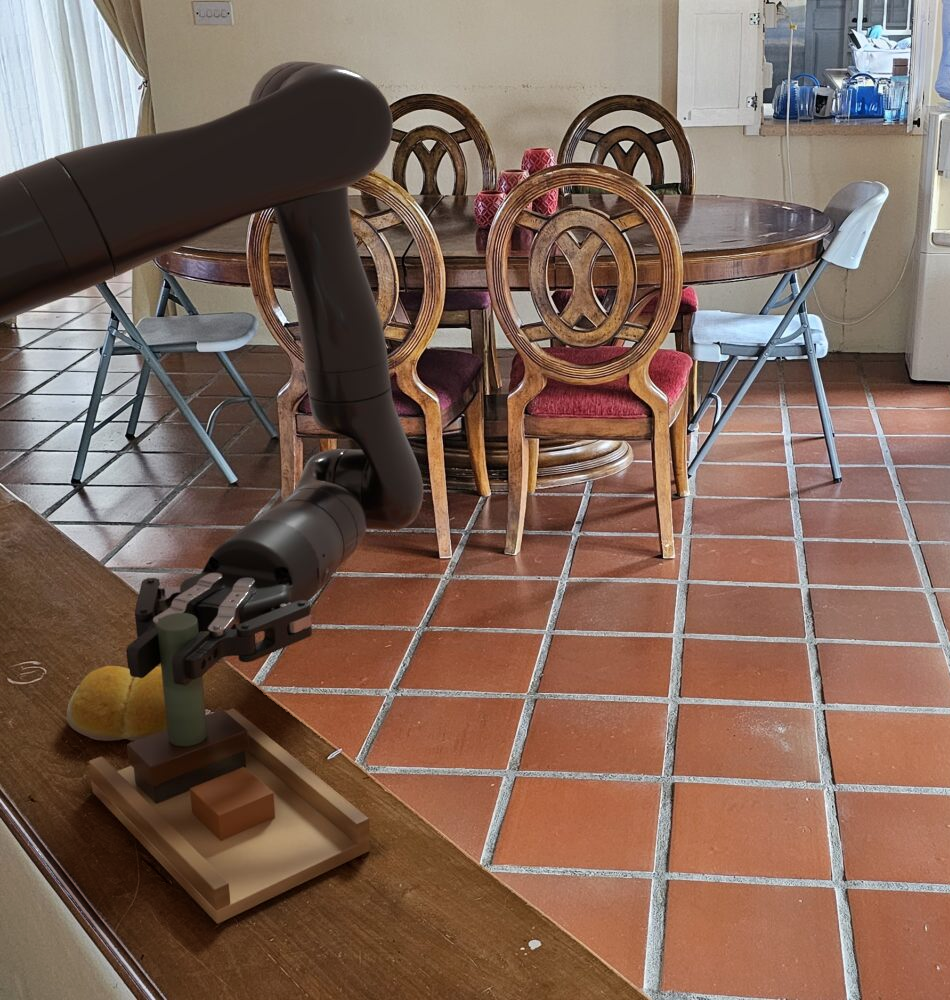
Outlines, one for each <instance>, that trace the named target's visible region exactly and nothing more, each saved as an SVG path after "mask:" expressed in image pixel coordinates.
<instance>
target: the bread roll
mask: <svg viewBox="0 0 950 1000" xmlns="http://www.w3.org/2000/svg"><path fill="white" fill-rule="evenodd" d="M66 721H67V723H68V726H69V727H70V728H72V729H73V730H74V731H75V732H77V733H79V734H80V735H83V736H85V737H87V738H90V739H92V740H95V741H105V742H108V741H109V742H112V741H121V740H128V741H132V742H134V741H137V740H140V739H143V738H145V737H148V736H151V735H154V734H156V733H159V732H162V731H165V730H167V722H166V712H165V702H164V692H163V682H162V672H161V665H158V666H156V667H155V668H154V669H153V670H152V671H151V672H150V673H148V674H147V675H146V676H145V677H144V678H138V677H132V676H131V675H130V670H129V669H128V667H123V666H120V665H104V666H102V667H99V668H96V669H94V670H92V671H91V672H89V673H88V674H87V675H85V677H84V678H83V679H82V681H81V682H80V683H79V684H78V685H77V686H76V689H75V690H74V692H73V693H72V696H71V697H70V699H69V702H68V705H67V709H66Z"/></svg>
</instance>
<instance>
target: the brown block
mask: <svg viewBox="0 0 950 1000" xmlns="http://www.w3.org/2000/svg"><path fill="white" fill-rule="evenodd" d="M190 796H191V806H192V813H193V814H194V815H195V816H196V817H197V818H198V819H199V820H200V821H201V822H202V823H203V824H204V825H205V826H206V827H207V828H208V829H209V830H210V831H211V832H212V833H213V834H214V835H215V836H216V837H217V838H218V839H220V840H221V841H222V840H224V839H226V838H229V837H231V836H233V835H236V834H238V833H240V832H243V831H245V830H247V829H249V828H252V827H254V826H256V825H259V824H261V823H263V822H265V821H268V820H270V819H272V818H275V807H274V793H273V792H272V791H271V790H270V789H269V788H268V787H266V786H265V785H264V784H263V783H262V782H261V781H260V780H258V779H257V778H256V777H255V776H254V775H253V774H251V773H250V772H249V771H248V770H247V769H246V768H245V767H242V768H240V769H237V770H235V771H232V772H230V773H227V774H225V775H222V776H220V777H217V778H215V779H212V780H210V781H207V782H205V783H202V784H200V785H197V786H195V787H192V788H190Z"/></svg>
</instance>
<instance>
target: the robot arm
mask: <svg viewBox="0 0 950 1000" xmlns="http://www.w3.org/2000/svg"><path fill="white" fill-rule="evenodd" d="M393 119H394V118H393V114H392V109H391V107H390V104H389V102H388V101H387V98H386V97H385V96H384V94H383V92H382V91H381V90H380V88H379V87H377V86H376V85H375V84H374V83H373V82H371V80H369V79H368V78H367V77H365V76H363V74H360V73H358V72H357V71H354V70H352V69H349V68H347V67H344V66H341V65H336V64H331V63H322V62H316V61H315V62H314V61H288V62H283V63H281V64H279V65H277V66H274V67H272V68H271V69H270V70H268V71H267V72H266V73H264V74H263V75H262V76H261V78H260V79H259V80H258V81H257V83H256V84H255V86H254V88H253V90H252V92H251V95H250V99H249V102H248V104H247V105H245V106H242V107H241V108H239V109H236V110H234V111H232V112H230V113H227V114H225V115H223V116H221V117H218V118H216V119H213V120H210V121H207V122H204V123H200V124H197V125H194V126H190V127H185V128H181V129H176V130H170V131H169V130H168V131H163V132H157V133H152V134H145V135H139V136H134V137H127V138H123V139H117V140H113V141H108V142H103V143H99V144H95V145H91V146H86V147H82V148H79V149H75V150H72V151H67V152H64V153H61V154H58V155H56V156H54V157H50V158H47V159H45V160H42V161H39V162H36V163H34V164H31V165H28V166H26V167H23V168H20V169H18V170H15V171H13V172H10V173H6V174H5V175H1V176H0V323H2V322H5V321H7V320H10V319H12V318H13V319H14V318H15V317H17V316H21V315H23V314H25V313H28V312H31V311H32V310H35V309H38V308H40V307H44V306H46V305H49V304H52V303H55V302H57V301H59V300H62V299H65V298H68V297H70V296H73V295H76V294H78V293H80V292H83V291H86V290H87V289H90V288H93V287H95V286H97V285H99V284H101V283H104V282H106V281H109V280H111V279H114V278H117V277H118V276H119V277H120V276H121V275H123V274H125V273H127V272H129V271H132V270H134V269H135V268H138V267H140V266H142V265H144V264H147V263H149V262H151V261H153V260H156V259H158V258H160V257H162V256H164V255H167V254H169V253H171V252H174V251H176V250H178V249H181V248H183V247H185V246H187V245H189V244H191V243H193V242H196V241H197V240H200V239H201V238H204V237H206V236H208V235H209V234H212V233H214V232H215V231H217V230H219V229H221V228H223V227H226V226H227V225H230V224H232V223H234V222H237V221H239V220H241V219H244V218H246V217H249V216H252V215H256V214H258V213H261V212H264V211H267V210H271V209H273V212H274V215H275V219H276V223H277V227H278V230H279V234H280V239H281V243H282V247H283V251H284V256H285V259H286V265H287V269H288V273H289V278H290V283H291V287H292V288H291V289H292V293H293V298H294V304H295V309H296V315H297V322H298V329H299V335H300V343H301V350H302V357H303V364H304V372H305V381H306V386H307V394H308V401H309V405H310V412H311V415H312V419H313V421H314V422H315V424H316V425H317V426H318V427H319V428H321V429H323V430H325V431H326V432H330V433H332V434H333V433H334V434H337V435H340V436H342V437H345V438H348V439H350V440H352V441H353V442H355V443H356V444H357V446H358V447H359V448H360V449H353V448H352V449H351V448H330V449H326V450H323V451H320V452H318V453H316V454H314V455H313V456H311V457H310V458H309V459H308V460H307V462H306V463H305V465H304V468H303V470H302V473H301V475H300V477H299V479H298V481H297V483H296V485H295V486H294V489H293V491H292V493H291V494H289V495H288V496H287V497H286V498H284V499H283V500H282V501H281V502H279V503H278V504H277V505H275V506H273V507H271V508H270V509H267V510H265V511H263V512H262V513H261V514H259V515H258V516H256V517H255V518H254V519H252V520H251V521H250V522H249V523H247V524H246V525H245V526H243V527H242V528H241V529H240V530H238V531H237V532H236V533H234V534H233V535H232V536H231V537H229V538H228V539H227V540H225V541H224V542H223V543H221V544H220V545H219V546H217V547H216V549H214V551H213V552H212V554H211V555H210V556H209V558H208V560H207V562H206V564H205V566H204V567H203V569H202V571H201V572H199V574H197V575H193V576H191V577H188V578H186V579H184V580H183V581H181V584H180V586H167V587H165V585H161V584H160V583H161V581H160V579H159V578H157V577H147V578H145V579H143V580H142V581H141V584H140V588H139V593H138V597H137V601H136V603H135V608H134V619H135V627H136V635H137V636H136V639H134V640H133V641H132V642H131V643H129V644H128V645H127V647H126V649H125V653H126V659H127V660H126V662H127V669H129V670H130V675H131V676H132V677H138V678H144V677H145V676H146V675H147V674H148V673H150V672H151V671H152V670H153V669H154V668H155V667H156V666H160V665H161V662H160V652H159V641H158V631H157V622H158V621H159V619H161V618H162V617H164V616H166V615H170V614H174V613H188V614H192V615H194V616H195V617H196V618H197V620H198V630H199V633H198V635H197V636H196V637H194V638H192V639H191V640H190V641H189V642H188V643H187V644H185V645H184V646H183V647H182V648H181V649H180V650H179V651H177V652H176V653H175V654H174V656H173V658H172V669H173V680H174V683H175V684H180V685H188V684H189V683H190V682H191V681H192V680H193V679H197V678H199V677H201V676H202V677H203V676H204V675H205V674H206V672H208V671H209V670H210V669H212V667H214V665H216V664H217V663H219V664H221V663H224V662H227V661H229V659H230V658H231V657H234V656H235V657H238V661H240V662H242V663H251V662H253V661H256V660H259V659H261V658H263V657H266V656H268V655H270V654H273V653H275V652H277V651H280V650H282V649H285V648H287V647H290V646H291V645H294V644H296V643H299V642H300V641H303V640H305V639H307V638H310V637H311V636H312V635H313V627H312V626H313V618H312V607H311V601H310V600H311V599H312V598H313V597H315V596H316V594H318V593H319V592H320V591H321V590H322V589H323V588H324V587H325V585H326V584H327V583H329V581H330V579H331V578H332V576H333V575H334V573H335V572H336V571H337V570H338V569H339V567H341V566H342V565H343V564H344V563H345V562H346V561H347V560H348V559H349V558H350V557H351V556H352V555H353V554H354V553H355V552H356V550H357V549H358V548H359V547H360V546H361V544H362V542H363V541H364V538H365V536H366V533H367V530H375V531H376V530H378V531H398V530H402V529H405V528H407V527H409V526H410V525H411V524H412V523H413V522H414V521H415V519H416V518H417V517H418V515H419V513H420V510H421V508H422V504H423V500H424V482H423V475H422V472H421V469H420V467H419V463H418V461H417V458H416V455H415V453H414V450H413V449H412V446H411V444H410V442H409V439H408V438H407V434H406V433H405V430H404V427H403V424H402V422H401V419H400V416H399V413H398V411H397V408H396V405H395V402H394V398H393V392H392V384H391V375H390V366H389V359H388V348H387V342H386V336H385V332H384V327H383V323H382V319H381V314H380V312H379V308H378V306H377V302H376V299H375V296H374V294H373V291H372V288H371V285H370V282H369V280H368V277H367V273H366V270H365V267H364V265H363V262H362V258H361V256H360V251H359V249H358V246H357V242H356V238H355V234H354V229H353V224H352V218H351V211H350V203H349V187H350V186H352V185H354V184H356V183H358V182H360V181H361V180H363V179H364V178H366V177H367V176H369V175H370V174H371V173H372V172H373V171H374V170H375V169H376V168H377V167H378V166H379V165H380V163H381V162H382V161H383V159H384V157H385V156H386V154H387V152H388V150H389V148H390V145H391V140H392V137H393V127H394V120H393ZM260 632H263V634H264V635H263V636H264V637H263V639H262V640H260V641H258V642H256V634H258V633H260Z"/></svg>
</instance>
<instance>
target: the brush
mask: <svg viewBox="0 0 950 1000" xmlns="http://www.w3.org/2000/svg"><path fill="white" fill-rule="evenodd" d="M157 631H158V641H159V652H160V662H161V663H160V666H161V672H162V682H163V692H164V702H165V712H166V722H167V730H165V731H162V732H159V733H156V734H154V735H151V736H148V737H145V738H143V739H140V740H137V741H132V742H129V743H126V748H127V749H126V750H127V757H128V764H129V766H132V767H133V768H134V775H135V783H136V784H137V785H138V786H139V787H140V788H141V789H142V790H143V791H144V792H145V793H146V794H147V795H148V796H149V797H150V798H151V799H152V800H153V801H154V802H155V803H156V804H157V803H160V802H162V801H165V800H167V799H170V798H172V797H175V796H177V795H180V794H182V793H185V792H187V791H190V788H192V787H195V786H197V785H200V784H202V783H205V782H207V781H210V780H212V779H215V778H217V777H220V776H222V775H225V774H227V773H230V772H232V771H235V770H237V769H240V768H242V767H245V768H246V759H245V750H247V749H249V745H248V731H247V729H246V728H244V727H243V726H242V725H241V724H240V723H238V722H237V721H236V720H235V719H234V718H233V717H231V716H230V715H229V714H228V713H227V712H225V711H226V710H224V709H220V710H217V711H213V712H211V713H209V714H207V713H206V712H207V711H206V702H205V688H204V678H203V675H202V676H201V677H199V678H197V679H193V680H192V681H191V682H190V683H189V684H188V685H180V684H175V683H174V680H173V669H172V658H173V656H174V654H175V653H176V652H177V651H179V650H180V649H181V648H182V647H183V646H184V645H185V644H187V643H188V642H189V641H190V640H191V639H192V638H194V637H196V636H197V635H198V633H199V630H198V620H197V618H196V617H195V616H194V615H192V614H188V613H174V614H170V615H166V616H164V617H162V618H161V619H159V621H158V622H157Z"/></svg>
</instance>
